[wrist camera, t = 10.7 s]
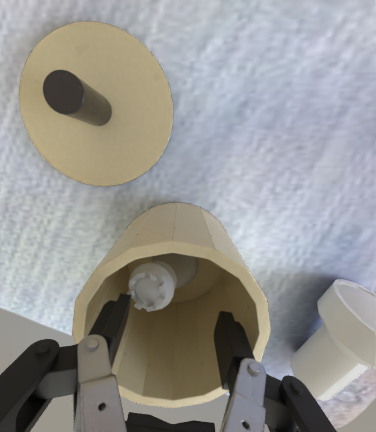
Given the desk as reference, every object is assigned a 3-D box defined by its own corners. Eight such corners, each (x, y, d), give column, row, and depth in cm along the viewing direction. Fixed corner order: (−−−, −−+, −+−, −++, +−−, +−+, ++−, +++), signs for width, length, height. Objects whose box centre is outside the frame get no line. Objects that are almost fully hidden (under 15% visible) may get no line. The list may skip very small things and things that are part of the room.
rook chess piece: (157, 283, 23) (116, 325, 15) (154, 239, 23) (110, 258, 15) (201, 283, 22) (182, 328, 14) (198, 237, 22) (176, 256, 14)
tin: (129, 191, 21) (82, 223, 11) (244, 215, 22) (296, 263, 12) (114, 294, 24) (64, 394, 14) (216, 312, 25) (240, 417, 15)
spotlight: (398, 296, 24) (467, 373, 16) (331, 358, 28) (361, 439, 21) (325, 263, 24) (360, 324, 17) (271, 330, 29) (280, 400, 22)
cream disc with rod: (31, 11, 18) (-56, -73, 11) (186, 51, 19) (189, -5, 12) (26, 169, 21) (-45, 175, 14) (159, 196, 22) (150, 213, 15)
